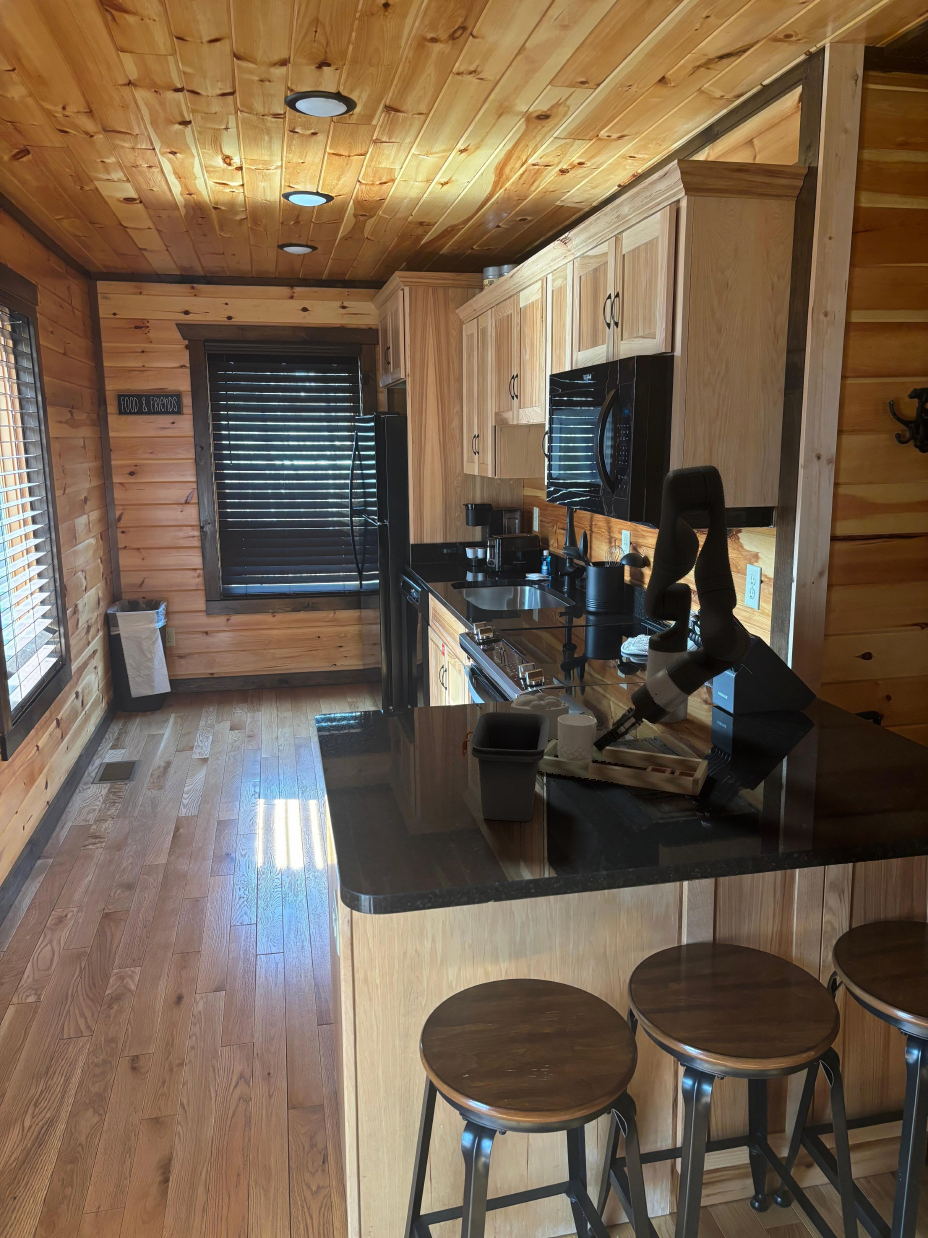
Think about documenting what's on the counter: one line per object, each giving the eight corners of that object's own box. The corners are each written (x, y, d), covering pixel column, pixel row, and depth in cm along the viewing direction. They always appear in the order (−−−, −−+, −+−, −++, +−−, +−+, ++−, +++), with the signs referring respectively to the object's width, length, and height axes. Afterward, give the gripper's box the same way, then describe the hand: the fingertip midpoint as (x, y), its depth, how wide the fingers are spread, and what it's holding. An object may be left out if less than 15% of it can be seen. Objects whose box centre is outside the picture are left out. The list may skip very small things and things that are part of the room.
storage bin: (545, 830, 152) (547, 750, 149) (454, 825, 153) (455, 745, 151) (548, 785, 172) (550, 714, 170) (468, 781, 174) (469, 710, 172)
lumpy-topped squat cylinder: (514, 725, 211) (515, 689, 209) (569, 729, 208) (571, 693, 207) (508, 738, 201) (509, 701, 199) (566, 742, 198) (567, 705, 197)
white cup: (584, 776, 178) (587, 727, 176) (549, 768, 182) (551, 720, 180) (600, 764, 184) (602, 718, 182) (565, 757, 188) (567, 711, 186)
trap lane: (707, 774, 179) (708, 760, 178) (697, 795, 168) (698, 780, 167) (552, 752, 191) (552, 739, 191) (534, 770, 180) (534, 756, 180)
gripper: (654, 673, 180) (593, 724, 187) (640, 688, 168) (575, 742, 175) (679, 701, 179) (617, 752, 186) (667, 719, 167) (601, 772, 174)
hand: (597, 747), depth 180 cm, fingers closed
